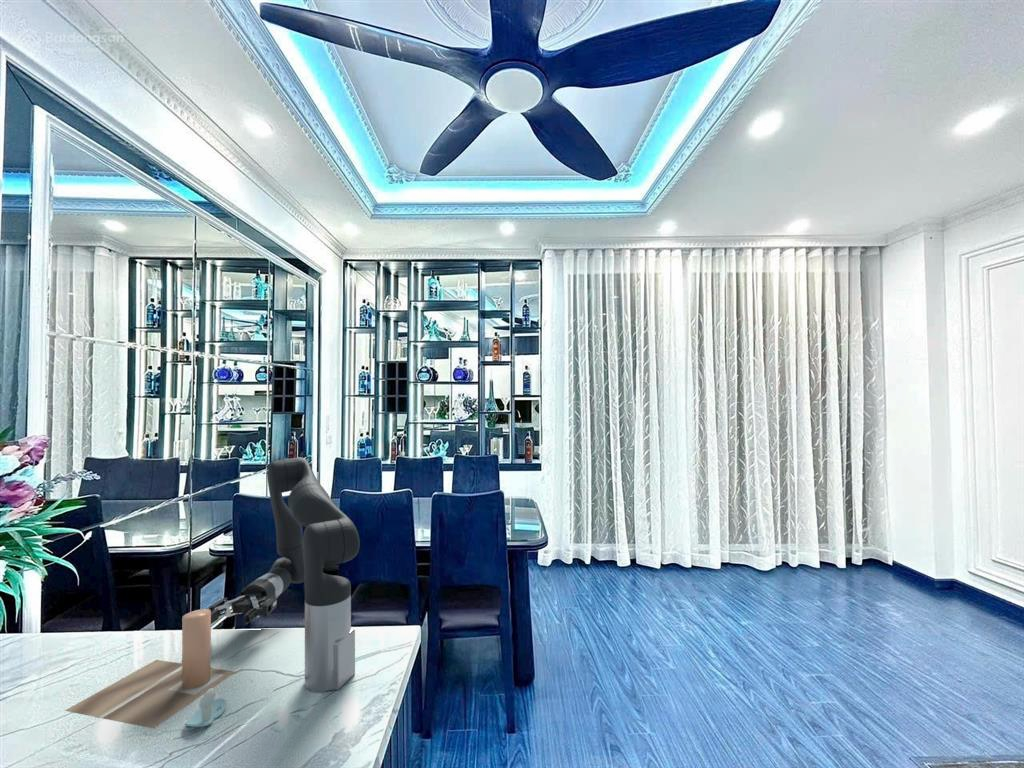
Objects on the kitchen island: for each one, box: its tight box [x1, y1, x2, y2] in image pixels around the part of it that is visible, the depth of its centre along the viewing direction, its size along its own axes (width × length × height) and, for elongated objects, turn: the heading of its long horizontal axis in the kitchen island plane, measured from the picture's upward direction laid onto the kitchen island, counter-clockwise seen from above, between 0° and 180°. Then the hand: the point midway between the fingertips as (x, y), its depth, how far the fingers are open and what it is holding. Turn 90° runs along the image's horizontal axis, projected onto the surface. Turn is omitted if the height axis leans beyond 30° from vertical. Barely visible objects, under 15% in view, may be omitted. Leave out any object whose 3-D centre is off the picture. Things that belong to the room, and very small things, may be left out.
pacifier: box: [181, 687, 227, 731], centre depth 86 cm, size 7×6×6 cm
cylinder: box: [181, 608, 212, 689], centre depth 98 cm, size 5×5×14 cm
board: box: [64, 659, 236, 729], centre depth 95 cm, size 22×18×1 cm
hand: (226, 620), depth 108 cm, fingers open, 8 cm apart
